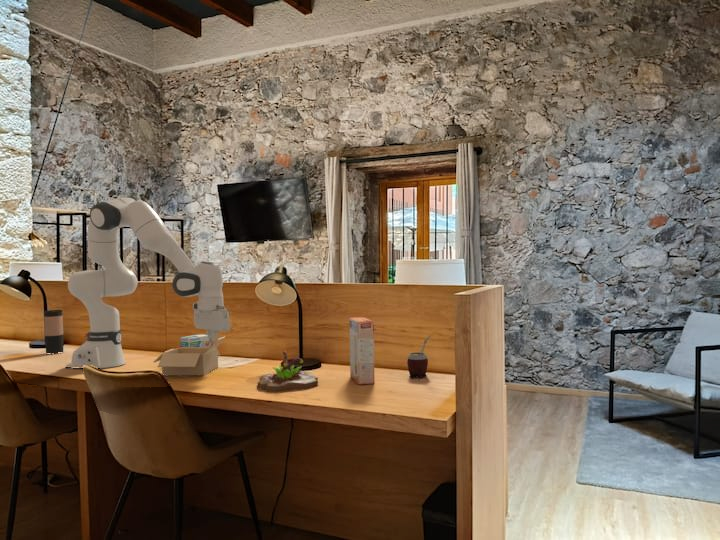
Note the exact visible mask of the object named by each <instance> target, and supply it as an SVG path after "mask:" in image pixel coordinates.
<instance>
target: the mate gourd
mask: <svg viewBox="0 0 720 540" xmlns="http://www.w3.org/2000/svg"><path fill="white" fill-rule="evenodd" d="M433 335H434V334H431V335H428V336H427V337H426V338H425V339H424V342H423V344H422V345H423V346H422V349H421V351H420V352H411V353H409V354H408V357H407V367H408V372H409V379H411V378H418V379H423V377H427V370H428V366H429V365H428V364H429V360H428V356H427V355H426V353H425V352H424V350H425V347H426V344H427V342H428V340H429V339H431V337H432V336H433Z"/></svg>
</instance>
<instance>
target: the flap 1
mask: <svg viewBox="0 0 720 540" xmlns="http://www.w3.org/2000/svg"><path fill="white" fill-rule="evenodd" d="M162 353H163V352H162ZM199 356H200V353H163V355H162V358H161V360H160V361H158V365H157V368H162V367H195V366H196V363H197V361H198V358H199Z"/></svg>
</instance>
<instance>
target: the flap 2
mask: <svg viewBox="0 0 720 540" xmlns="http://www.w3.org/2000/svg"><path fill="white" fill-rule="evenodd" d="M225 338H226V336H225V335H224V336H222V337H219V338H217V340H216V341H215V342H213V343H212V345H210V346H211V347H210V348H209V349H208V351H211V350H213V349H215V348H218V346H219V345H220V344H221V343H222V342H223V340H224V339H225Z"/></svg>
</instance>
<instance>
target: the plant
mask: <svg viewBox="0 0 720 540" xmlns="http://www.w3.org/2000/svg"><path fill="white" fill-rule="evenodd" d="M282 356H283V357H284V362H283V366H282V365H279V366H278V367H279V368H277V367H275V366H272V369H273V370H274V371H275V373H268V374H263V375H261V376H260V377H259V379H258V382H257V389H260V391H266V392H268V393H280V392H288V391H289V392H290V391H298V390H308V389H313V388H315V387H318V386H319V385H318V383H319V382H318V379H319V378H318V377H317V376H315V375H314V374H312V373H311V372H308V371H304V369H301V368H302V366H298V367H296V368H295V365H294V364H293V363H295V362H296V361H298V362H299V363H300V364H303V363H304V360H303V359H302V358H297V357H296V358H293V360H292V361H290V363H289V361H288V355H287V351H286V350H284V351H282Z"/></svg>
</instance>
